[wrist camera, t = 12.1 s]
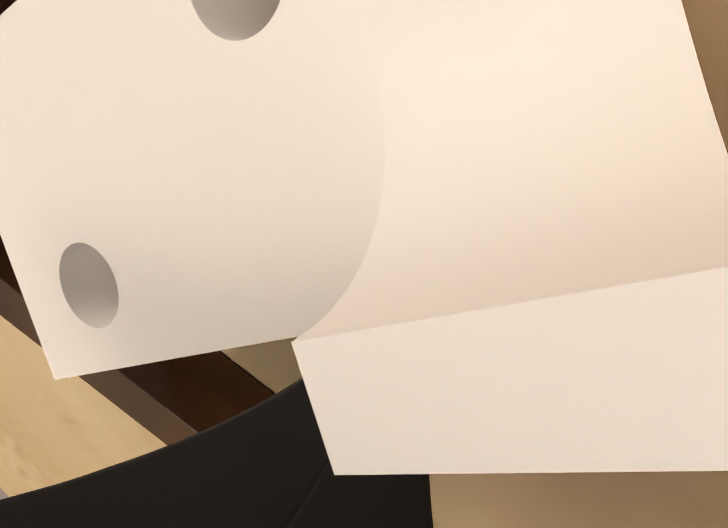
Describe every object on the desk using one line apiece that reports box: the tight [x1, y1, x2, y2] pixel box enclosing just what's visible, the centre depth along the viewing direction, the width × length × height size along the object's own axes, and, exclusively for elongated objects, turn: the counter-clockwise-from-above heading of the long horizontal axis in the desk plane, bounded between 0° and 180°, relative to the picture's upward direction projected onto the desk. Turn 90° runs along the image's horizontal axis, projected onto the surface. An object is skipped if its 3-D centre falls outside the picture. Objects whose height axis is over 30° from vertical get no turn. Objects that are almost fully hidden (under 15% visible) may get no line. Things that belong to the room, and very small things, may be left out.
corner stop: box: [0, 0, 274, 445], centre depth 12 cm, size 17×16×2 cm
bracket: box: [0, 0, 728, 475], centre depth 9 cm, size 13×7×8 cm, turn 115°
